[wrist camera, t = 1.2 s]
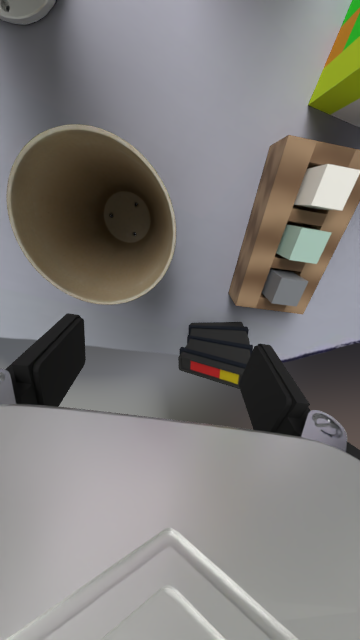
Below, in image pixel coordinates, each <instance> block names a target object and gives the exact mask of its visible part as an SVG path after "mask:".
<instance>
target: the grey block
mask: <svg viewBox="0 0 360 640" xmlns="http://www.w3.org/2000/svg"><path fill="white" fill-rule="evenodd" d="M307 284H308V281H307V280H305V279H304V278H302V277H300V276H299V275H297V274H295V273H294V272H292V271H287V270H280V269H273V268H270V271H269V273H268V276H267V279H266V282H265V284H264V287H263V290H262V292H261V293H262V294H263V295H264V296H265V297H266V298H267V299H268V300H269V301H270V302H271V303H273V304H280V305H288V306H296V307H297V305H298V303H299V301H300V298H301V296H302V294H303V292H304V290H305V288H306V286H307Z"/></svg>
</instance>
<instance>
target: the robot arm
mask: <svg viewBox="0 0 360 640" xmlns="http://www.w3.org/2000/svg"><path fill="white" fill-rule="evenodd" d="M55 1H56V0H0V19H2V20H4V21H7V22H10V23H13V24H30V23H33V22H37V21H38V20H40V19H41V18H43V17H44V16H45V15H46V14H47V13H48V12H49V11H50V9H51V8H52V7H53V6H54V3H55ZM84 364H85V336H84V320H83V319H82V318H81V317H80V316H79V315H74V314H66V315H65V316H64V317H63V318H62V319H61V320H59V321H58V322H57V323H56V324H55V325H54V326H53V327H52V328H51V329H50V330H49V331H47V332H46V333H45V334H44V335H43V336H42V337H41V338H39V339H38V340H37V341H36V342H35V343H34V344H33V345H32V346H31V347H30V348H28V349H27V350H26V351H25V352H24V353H23V354H22V355H21V356H20V357H19V358H18V359H16V360H15V361H14V362H13V363H12V364H11V365H10V366H9V367H8V368H7V369H0V640H360V450H359V449H357V448H356V447H354V446H353V445H351V444H350V443H348V442H347V434H346V432H345V430H344V428H343V427H342V426H341V424H340V423H339V422H337V421H336V420H335V419H334V418H333V417H331V416H330V415H328V414H326V413H324V412H321V411H318V410H312V411H310V409H309V408H308V406H309V405H310V404H309V403H308V401H307V400H306V398H305V396H304V395H303V393H302V392H301V391H300V389H299V387H298V386H297V384H296V383H295V381H294V380H293V378H292V377H291V375H290V374H289V372H288V371H287V370H286V368H285V367H284V365H283V363H282V362H281V360H280V359H279V357H278V356H277V354H276V353H275V351H274V350H273V348H272V347H271V346H270V345H265V344H258V346H255V347H254V349H253V351H252V354H251V356H250V358H249V361H248V363H247V365H246V368H245V370H244V372H243V375H242V377H241V379H240V382H239V387H240V390H241V393H242V396H243V399H244V402H245V405H246V408H247V411H248V414H249V417H250V420H251V423H252V426H253V429H254V430H251V429H243V428H235V427H227V426H219V425H212V424H204V423H195V422H187V421H179V420H171V419H162V418H154V417H145V416H137V415H128V414H120V413H111V412H102V411H93V410H85V409H75V408H66V407H58V406H59V405H60V403H61V401H62V400H63V398H64V397H65V395H66V393H67V392H68V390H69V389H70V387H71V385H72V384H73V382H74V380H75V379H76V377H77V376H78V374H79V373H80V371H81V369H82V368H83V366H84Z"/></svg>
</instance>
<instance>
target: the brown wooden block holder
mask: <svg viewBox="0 0 360 640" xmlns="http://www.w3.org/2000/svg"><path fill="white" fill-rule="evenodd" d="M325 164H332V165H337V166H342V167H347V168H352V169H357V170H360V150H358V149H353V148H349V147H344V146H339V145H334V144H329V143H325V142H320V141H315V140H310V139H305V138H301V137H296V136H291V135H288V136H286V137H285V138H283V139H281V140H280V141H278V142H276V143H274V144H273V145H271V146H270V148H269V151H268V155H267V159H266V162H265V166H264V169H263V173H262V176H261V180H260V183H259V187H258V190H257V194H256V197H255V201H254V205H253V208H252V212H251V215H250V219H249V222H248V226H247V229H246V233H245V236H244V240H243V243H242V247H241V250H240V254H239V258H238V261H237V265H236V268H235V272H234V275H233V279H232V282H231V286H230V289H229V295H230V296H231V298H232V300H233V302H234V303H235V305H236V306H243V307H251V308H259V309H266V310H274V311H282V312H290V313H297V314H303V313H304V311H305V309H306V307H307V305H308V303H309V301H310V299H311V297H312V295H313V293H314V291H315V289H316V287H317V285H318V283H319V281H320V279H321V277H322V275H323V273H324V271H325V269H326V267H327V265H328V263H329V261H330V259H331V257H332V255H333V253H334V251H335V249H336V247H337V245H338V243H339V241H340V239H341V237H342V235H343V233H344V231H345V229H346V227H347V225H348V223H349V221H350V219H351V217H352V215H353V213H354V211H355V209H356V207H357V205H358V203H359V201H360V174H359V176H358V178H357V180H356V183H355V185H354V187H353V189H352V191H351V193H350V195H349V197H348V199H347V202H346V204H345V206H344V208H343V210H342V211H340V210H322V209H313V208H308V207H302V206H296V205H294V203H295V200H296V197H297V194H298V192H299V189H300V186H301V184H302V181H303V178H304V175H305V173H306V170H307V169H309V168H313V167H317V166H321V165H325ZM286 224H287V225H293V226H299V227H305V228H311V229H316V230H321V231H326V232H331V235H330V237H329V239H328V242H327V244H326V246H325V248H324V250H323V252H322V254H321V256H320V258H319V261H318V263H317V264H313V263H306V262H300V261H293V260H288V259H286V258H285V257H283V256H281V255H279V254H277V253H276V252H277V249H278V246H279V243H280V241H281V238H282V235H283V233H284V230H285V227H286ZM270 268H273V269H280V270H287V271H292V272H294V273H295V274H297V275H299V276H300V277H302V278H304V279H305V280H307V281H308V284H307V286H306V288H305V290H304V292H303V294H302V296H301V298H300V301H299V303H298V305H297V307H296V306H288V305H280V304H273V303H271V302H270V301H269V300H268V299H267V298H266V297H265V296H264V295H263V294H262V293H261V292H262V290H263V287H264V284H265V282H266V279H267V276H268V273H269V271H270Z"/></svg>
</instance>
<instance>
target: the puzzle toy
mask: <svg viewBox="0 0 360 640" xmlns="http://www.w3.org/2000/svg"><path fill="white" fill-rule="evenodd" d="M308 105H309V106H311V107H313V108H316V109H318V110H320V111H323V112H325V113H327V114H329V115H332V116H334V117H336V118H339V119H341V120H343V121H346V122H348V123H350V124H352V125H355V126H357V127H359V128H360V0H352V3H351V5H350V7H349V10H348V12H347V14H346V17H345V19H344V21H343V24H342V26H341V29H340V31H339V33H338V36H337V38H336V40H335V43H334V45H333V47H332V50H331V52H330V55H329V57H328V59H327V62H326V64H325V66H324V69H323V71H322V73H321V76H320V78H319V81H318V83H317V85H316V88H315V90H314V92H313V95H312V97H311V99H310V102H309V104H308Z"/></svg>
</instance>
